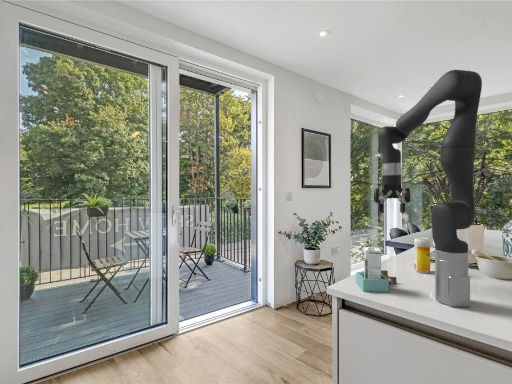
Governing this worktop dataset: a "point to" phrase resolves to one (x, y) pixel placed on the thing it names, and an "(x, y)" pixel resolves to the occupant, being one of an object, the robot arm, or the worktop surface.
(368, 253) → the syrup box
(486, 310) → the worktop surface
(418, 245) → the glass of beer
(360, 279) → the teal square tray
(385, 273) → the mount rails
